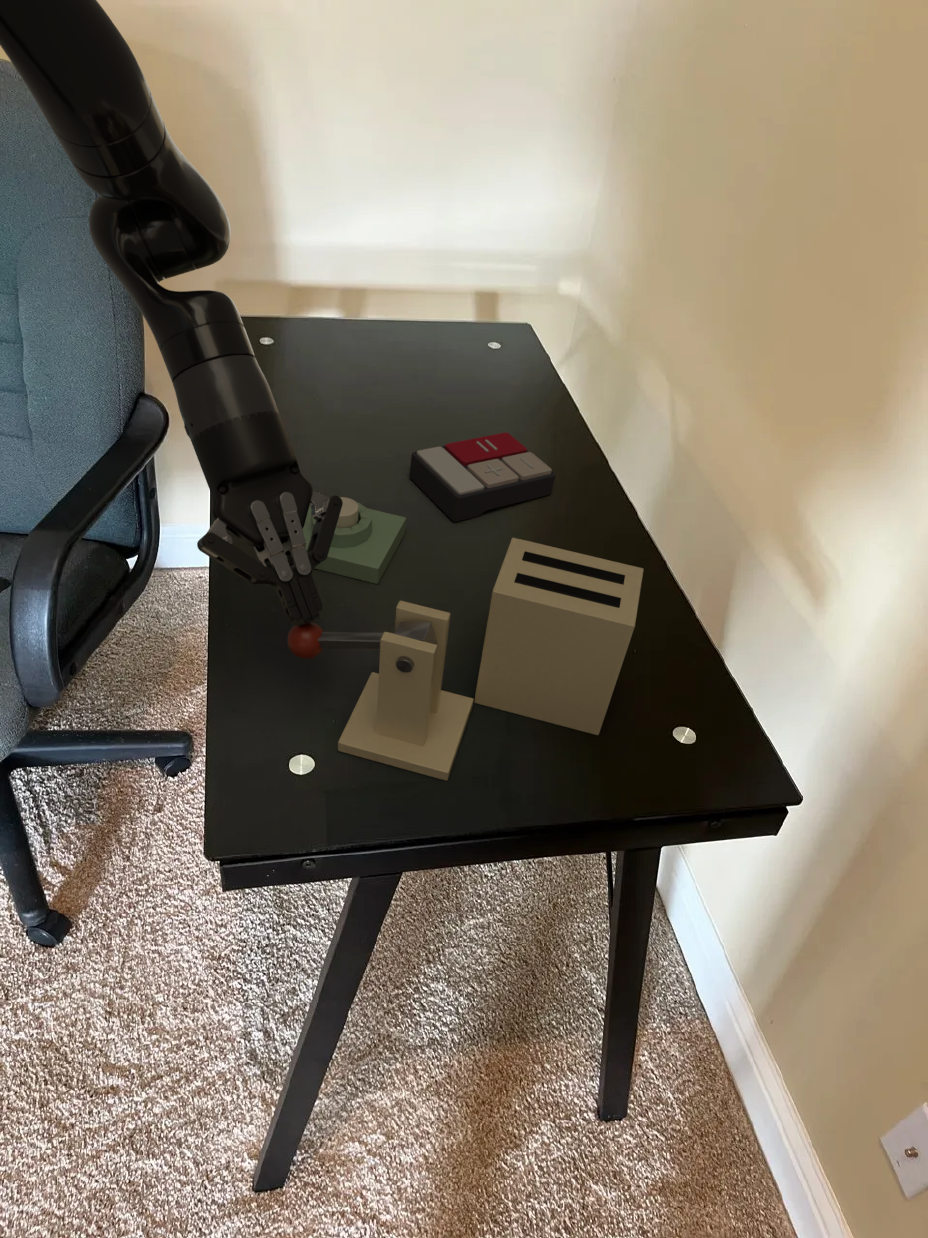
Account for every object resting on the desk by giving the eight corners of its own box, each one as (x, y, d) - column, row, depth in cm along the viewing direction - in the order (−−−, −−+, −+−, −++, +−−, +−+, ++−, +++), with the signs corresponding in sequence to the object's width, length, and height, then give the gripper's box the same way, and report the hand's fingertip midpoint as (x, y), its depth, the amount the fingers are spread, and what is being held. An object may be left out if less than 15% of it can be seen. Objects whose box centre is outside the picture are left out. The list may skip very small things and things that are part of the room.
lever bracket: (337, 751, 72) (337, 647, 64) (371, 680, 79) (375, 577, 70) (447, 781, 71) (462, 680, 62) (472, 706, 78) (489, 605, 69)
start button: (320, 524, 90) (320, 511, 89) (332, 506, 93) (332, 493, 91) (351, 532, 90) (351, 519, 88) (362, 514, 92) (363, 501, 91)
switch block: (273, 558, 91) (271, 529, 88) (308, 509, 98) (308, 480, 95) (377, 584, 89) (378, 555, 86) (405, 532, 96) (407, 504, 94)
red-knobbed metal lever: (288, 665, 71) (276, 637, 69) (303, 641, 73) (291, 613, 71) (429, 669, 67) (420, 639, 65) (440, 643, 69) (432, 614, 67)
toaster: (473, 703, 78) (492, 589, 68) (492, 647, 84) (512, 535, 74) (598, 735, 77) (635, 625, 67) (608, 676, 82) (644, 566, 73)
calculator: (558, 469, 103) (458, 492, 96) (551, 498, 106) (453, 523, 98) (508, 427, 109) (411, 446, 102) (502, 456, 112) (407, 476, 105)
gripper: (162, 429, 61) (246, 647, 63) (321, 393, 68) (394, 591, 69) (148, 456, 68) (224, 652, 69) (294, 421, 74) (361, 601, 76)
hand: (309, 621), depth 69 cm, fingers closed
